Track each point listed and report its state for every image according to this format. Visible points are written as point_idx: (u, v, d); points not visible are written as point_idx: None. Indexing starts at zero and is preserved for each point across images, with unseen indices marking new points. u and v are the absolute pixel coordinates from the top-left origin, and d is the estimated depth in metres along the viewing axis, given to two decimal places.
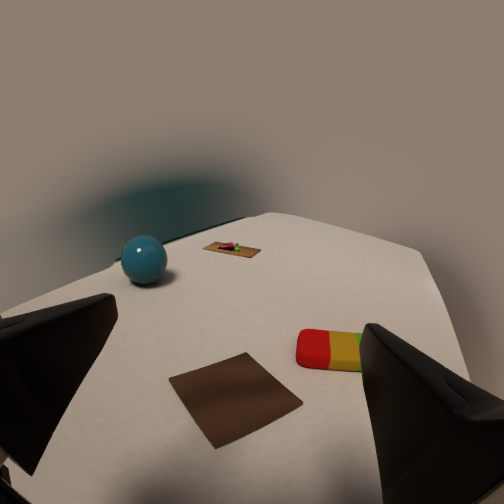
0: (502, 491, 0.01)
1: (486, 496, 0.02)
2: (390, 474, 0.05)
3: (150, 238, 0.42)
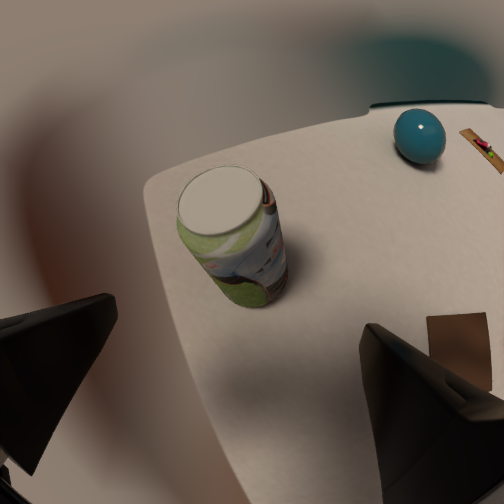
0: (502, 491, 0.01)
1: (486, 496, 0.02)
2: (390, 474, 0.05)
3: (437, 121, 0.26)
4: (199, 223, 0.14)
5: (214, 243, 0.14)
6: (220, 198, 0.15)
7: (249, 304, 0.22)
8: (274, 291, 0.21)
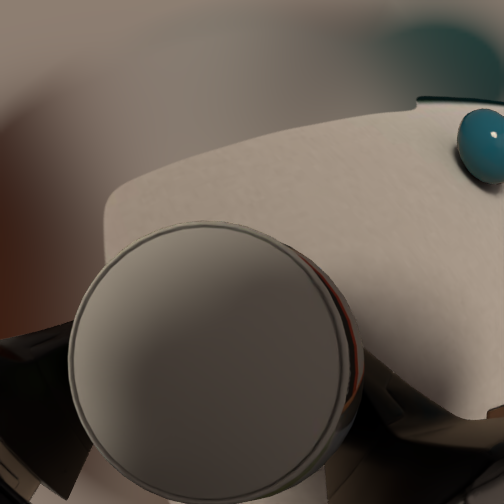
0: None
1: None
2: (335, 480, 0.05)
3: None
4: (124, 445, 0.03)
5: None
6: (190, 370, 0.04)
7: None
8: None
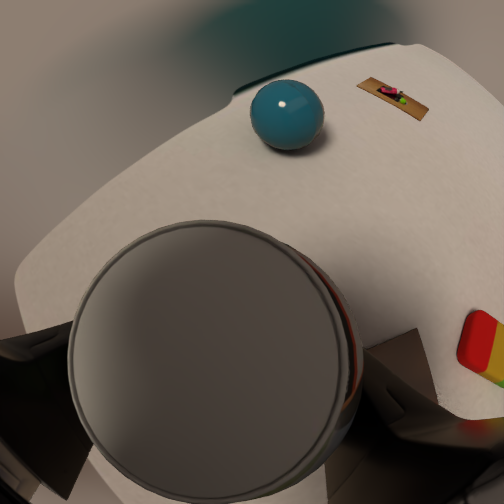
0: None
1: None
2: (335, 480, 0.05)
3: (302, 89, 0.23)
4: (124, 444, 0.03)
5: None
6: (189, 369, 0.04)
7: None
8: None
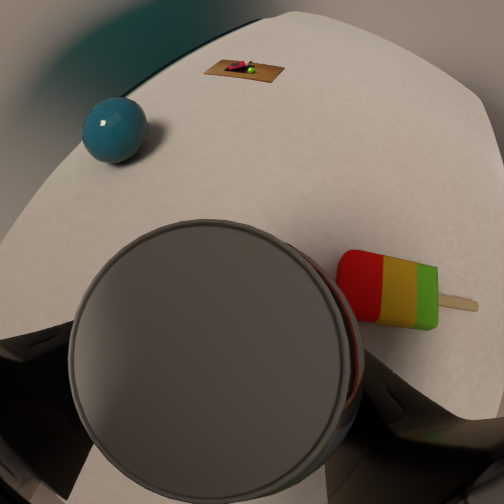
0: None
1: None
2: (335, 480, 0.05)
3: (114, 103, 0.23)
4: (124, 444, 0.03)
5: None
6: (190, 368, 0.04)
7: None
8: None
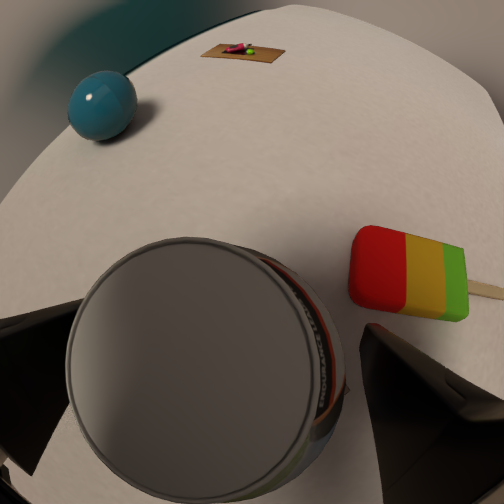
0: (502, 491, 0.01)
1: (486, 496, 0.02)
2: (390, 474, 0.05)
3: (101, 75, 0.19)
4: (114, 445, 0.03)
5: None
6: (173, 379, 0.04)
7: None
8: None
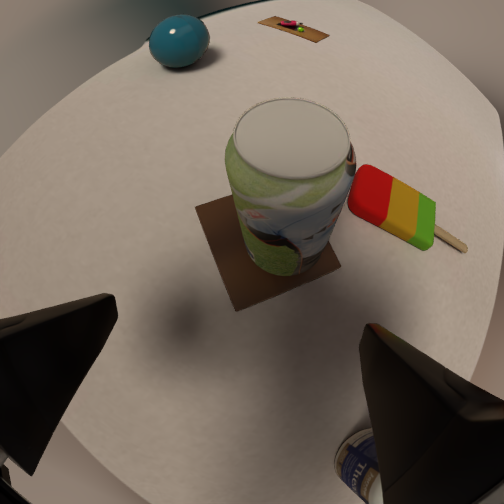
0: (502, 491, 0.01)
1: (486, 497, 0.02)
2: (390, 474, 0.05)
3: (187, 18, 0.23)
4: (261, 156, 0.10)
5: (274, 188, 0.10)
6: (295, 134, 0.10)
7: (273, 271, 0.19)
8: (307, 264, 0.18)
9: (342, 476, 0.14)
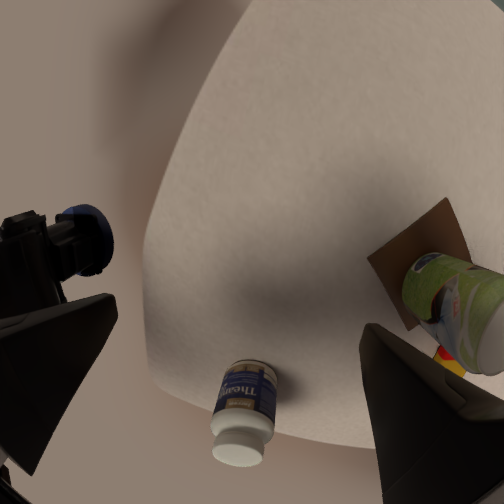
0: (502, 491, 0.01)
1: (486, 497, 0.02)
2: (390, 474, 0.05)
3: None
4: (494, 324, 0.09)
5: (473, 335, 0.10)
6: None
7: (406, 288, 0.19)
8: (413, 316, 0.18)
9: (235, 373, 0.23)
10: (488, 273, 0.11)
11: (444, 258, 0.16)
